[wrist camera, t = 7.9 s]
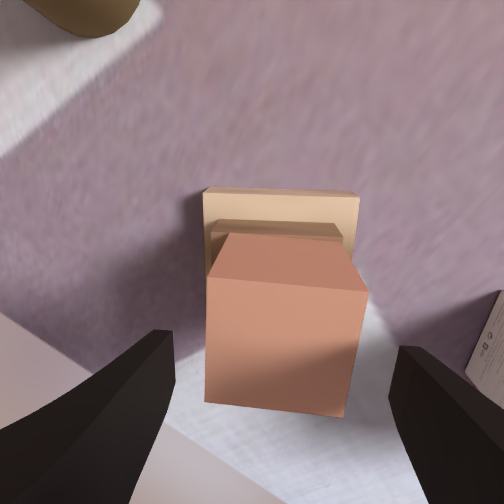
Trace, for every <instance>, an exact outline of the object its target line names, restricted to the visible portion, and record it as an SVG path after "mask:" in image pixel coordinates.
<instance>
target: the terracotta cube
mask: <svg viewBox="0 0 504 504" xmlns="http://www.w3.org/2000/svg"><path fill="white" fill-rule="evenodd" d="M368 295H369V291H368V289H367V287H366V286H365V284H364V282H363V281H362V279H361V277H360V275H359V274H358V272H357V270H356V268H355V267H354V265H353V263H352V261H351V260H350V258H349V256H348V254H347V253H346V251H345V249H344V247H343V246H342V244H341V242H335V241H323V240H312V239H300V238H288V237H277V236H265V235H254V234H242V233H229V235H228V237H227V239H226V241H225V243H224V245H223V247H222V249H221V251H220V253H219V255H218V257H217V258H216V260H215V262H214V264H213V266H212V268H211V270H210V272H209V274H208V276H207V304H206V352H205V400H204V402H208V403H217V404H226V405H235V406H243V407H252V408H261V409H270V410H279V411H287V412H296V413H305V414H314V415H323V416H331V417H340V418H343V415H344V410H345V405H346V400H347V396H348V391H349V386H350V381H351V376H352V372H353V367H354V362H355V357H356V353H357V348H358V343H359V338H360V333H361V329H362V324H363V319H364V314H365V309H366V305H367V300H368Z"/></svg>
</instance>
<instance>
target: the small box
mask: <svg viewBox="0 0 504 504" xmlns="http://www.w3.org/2000/svg"><path fill="white" fill-rule="evenodd" d="M465 373H466V375H467V376H468V377H469V378H470V380H471V381H472V382H473V383H474V385H475V386H476V387H477V388H478V390H479V391H480V392H481V393H482V394H484V395H485V396H486V397H488V398H489V399H490V400H492V401H493V402H495V403H496V404H497V405H499V406H500V407H501V408H503V409H504V290H503V291H501V292H500V294H499V296H498V299H497V301H496V303H495V305H494V307H493V309H492V312H491V314H490V316H489V318H488V320H487V323H486V325H485V327H484V329H483V332H482V334H481V336H480V338H479V341H478V343H477V345H476V347H475V349H474V352H473V354H472V357H471V359H470V361H469V363H468V366H467V368H466V371H465Z"/></svg>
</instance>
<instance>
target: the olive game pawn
mask: <svg viewBox="0 0 504 504" xmlns="http://www.w3.org/2000/svg"><path fill="white" fill-rule="evenodd" d="M24 1H25V2H26V3H28V4H29V5H30V6H32V7H33V8H34V9H36V10H37V11H38V12H40V13H41V14H42V15H44V16H45V17H46V18H48V19H49V20H50V21H52V22H53V23H54V24H56V25H57V26H58V27H60V28H62V29H64V30H66V31H68V32H70V33H72V34H74V35H77V36H82V37H92V38H98V37H101V36H105V35H108V34H112V33H114V32H115V31H117V30H118V29H119V28H120V27H122V26H123V25H124V24H125V23H127V22H128V21H129V19H130V18H131V16H132V14H133V13H134V11H135V10H136V8H137V6H138V5H139V2H140V0H24Z"/></svg>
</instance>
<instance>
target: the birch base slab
mask: <svg viewBox="0 0 504 504" xmlns="http://www.w3.org/2000/svg"><path fill="white" fill-rule="evenodd" d="M359 203H360V197H359V196H357V195H356V194H355V193H354V192H352V191H329V190H295V189H262V188H228V187H209V188H208V189H207V190H205V191H204V192H203V215H204V245H205V275H206V304H207V276H208V274H209V272H210V270H211V268H212V265H211V231H212V229H213V228H214V226H215V225H216V223H217V222H218V220H219V219H238V220H266V221H294V222H322V223H335V225H336V226H337V228H338V230H339V231H340V233H341V234H342V236H343V247H344V249H345V251H346V253H347V254H348V256H349V258H350V260H351V261H352V254H353V247H354V240H355V232H356V225H357V218H358V210H359Z"/></svg>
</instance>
